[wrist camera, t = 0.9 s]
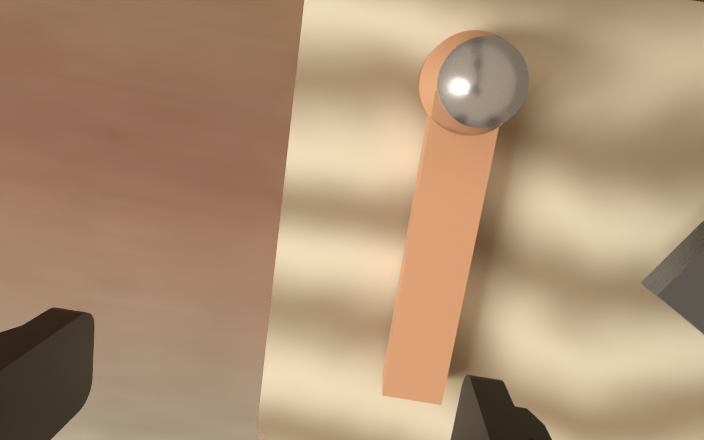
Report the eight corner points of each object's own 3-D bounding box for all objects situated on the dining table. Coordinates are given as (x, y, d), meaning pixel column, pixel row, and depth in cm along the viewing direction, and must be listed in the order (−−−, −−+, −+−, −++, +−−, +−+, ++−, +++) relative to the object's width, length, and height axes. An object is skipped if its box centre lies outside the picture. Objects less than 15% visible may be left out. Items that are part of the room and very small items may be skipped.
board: (313, -47, 25) (310, -53, 24) (913, 36, 24) (935, 34, 23) (259, 427, 31) (256, 438, 30) (735, 505, 30) (746, 518, 29)
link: (426, 28, 24) (430, 23, 22) (522, 42, 24) (534, 37, 22) (369, 372, 28) (368, 393, 26) (450, 385, 28) (455, 407, 26)
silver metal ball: (440, 37, 22) (447, 29, 20) (520, 48, 22) (538, 42, 19) (426, 118, 23) (431, 121, 20) (503, 129, 23) (518, 134, 20)
